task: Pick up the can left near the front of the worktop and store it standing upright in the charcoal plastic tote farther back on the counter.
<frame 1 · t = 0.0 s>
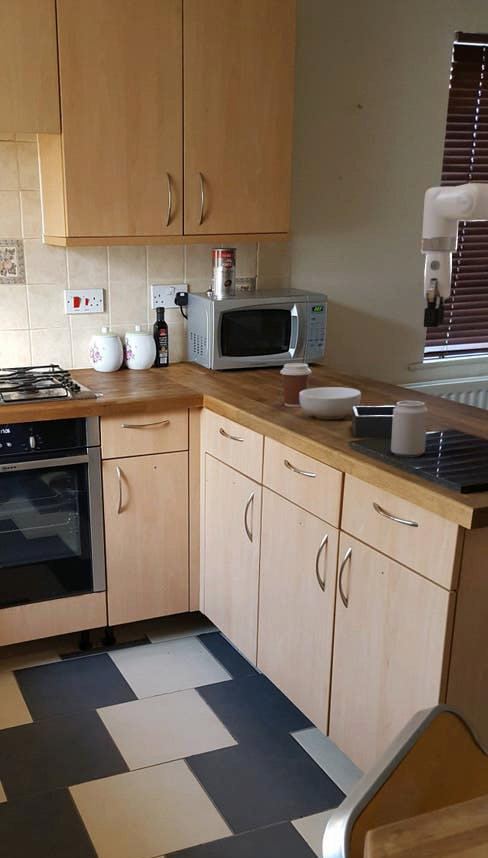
hand: (433, 325, 201), 28 cm above the countertop, tool pointing down, fingers open, 9 cm apart
can: (407, 455, 200), on the countertop
coffee cup: (295, 405, 263), on the countertop
cereal bowl: (329, 417, 244), on the countertop
tote: (380, 432, 223), on the countertop
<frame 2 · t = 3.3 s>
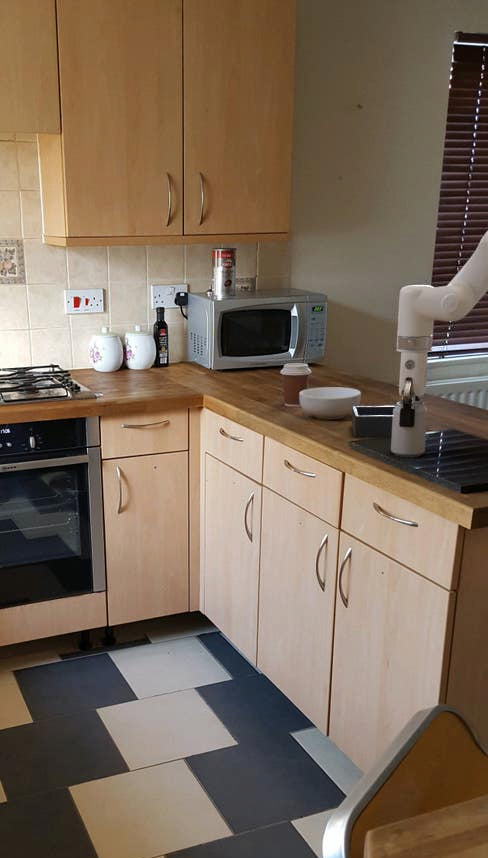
hand: (409, 422, 198), 7 cm above the countertop, tool pointing down, fingers closed on can, 7 cm apart
can: (407, 455, 200), on the countertop, touching gripper
everything else where it was.
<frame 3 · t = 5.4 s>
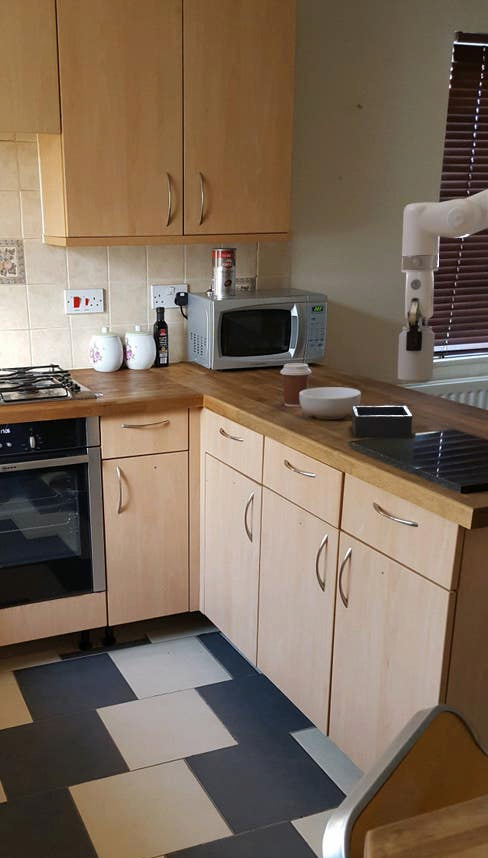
hand: (416, 348, 192), 24 cm above the countertop, tool pointing down, fingers closed on can, 7 cm apart
can: (414, 382, 195), point 16 cm above the countertop, touching gripper
everything else where it was.
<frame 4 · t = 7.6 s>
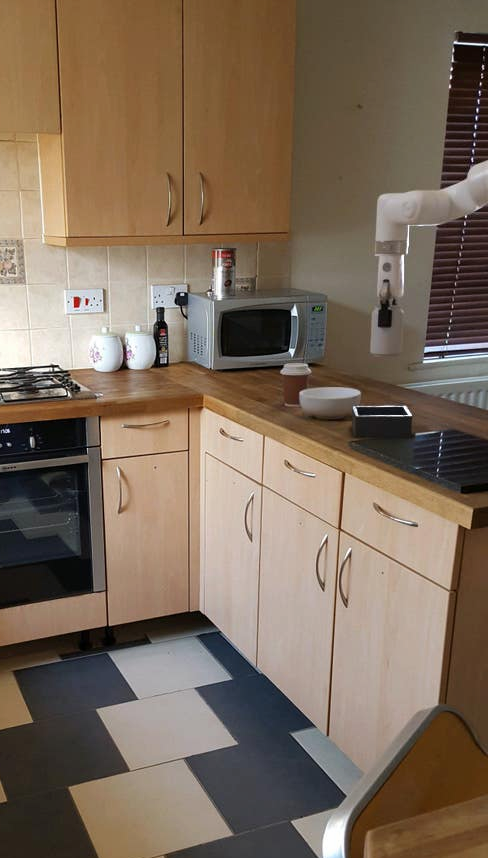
hand: (387, 325, 213), 27 cm above the countertop, tool pointing down, fingers closed on can, 7 cm apart
can: (385, 356, 215), point 19 cm above the countertop, touching gripper
everything else where it was.
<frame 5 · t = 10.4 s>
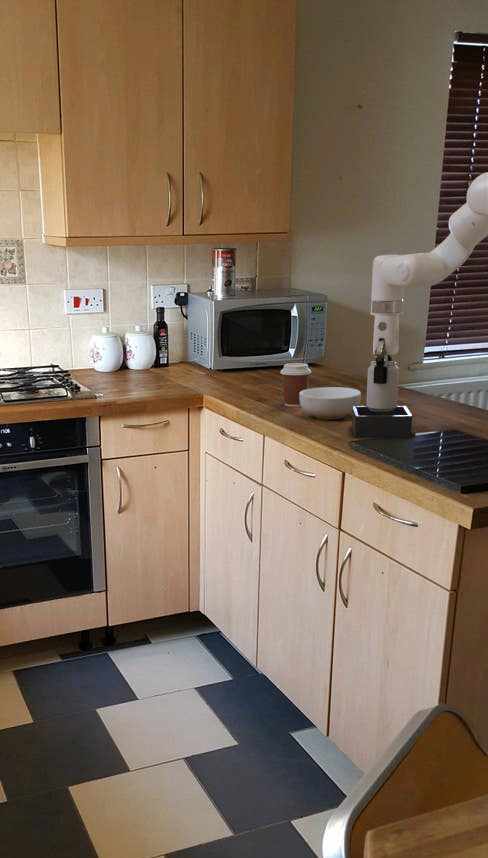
hand: (382, 380, 219), 13 cm above the countertop, tool pointing down, fingers closed on can, 7 cm apart
can: (381, 410, 221), point 6 cm above the countertop, touching gripper
everything else where it was.
when the fingers open (8 cm above the countertop, at t = 12.3 s): can stays where it is, resting on tote.
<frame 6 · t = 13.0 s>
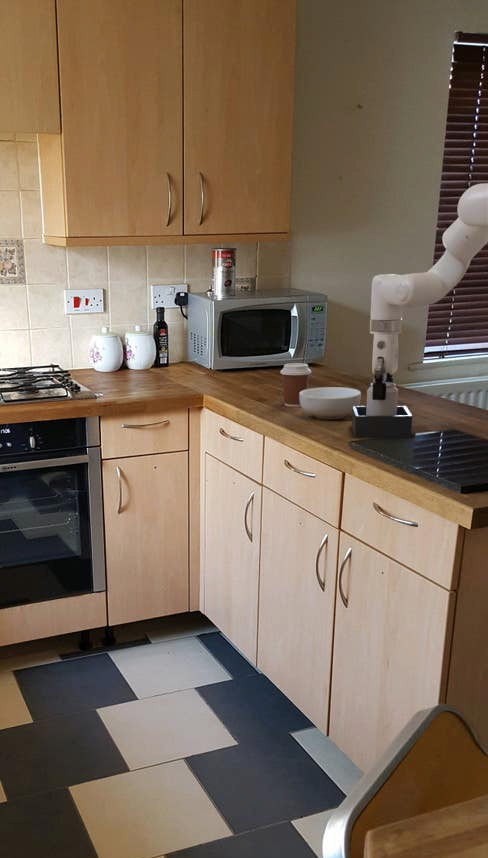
hand: (382, 396, 220), 9 cm above the countertop, tool pointing down, fingers open, 9 cm apart
can: (380, 431, 223), resting on tote
everything else where it was.
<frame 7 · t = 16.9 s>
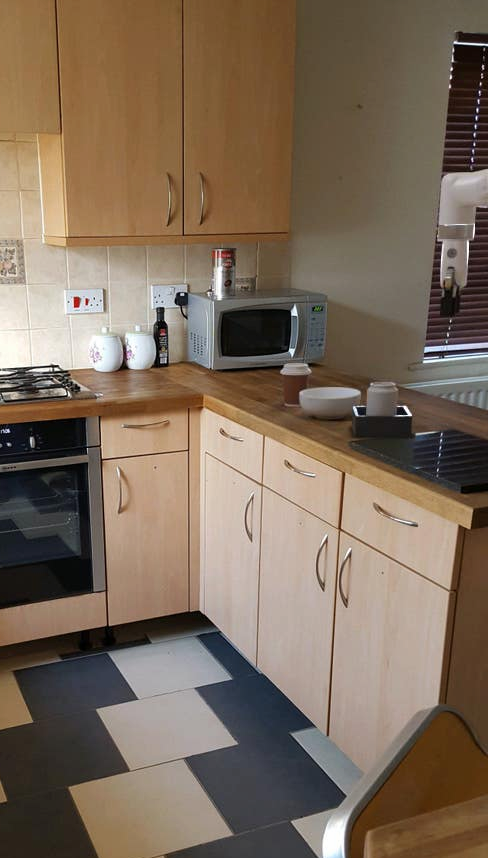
hand: (449, 314, 197), 30 cm above the countertop, tool pointing down, fingers open, 9 cm apart
nothing on the countertop moved.
at the end: can inside the target area in the tote (0.1 cm from its centre), point 0.4 cm above the tote's base; can tilted 0°; the gripper is holding nothing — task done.
